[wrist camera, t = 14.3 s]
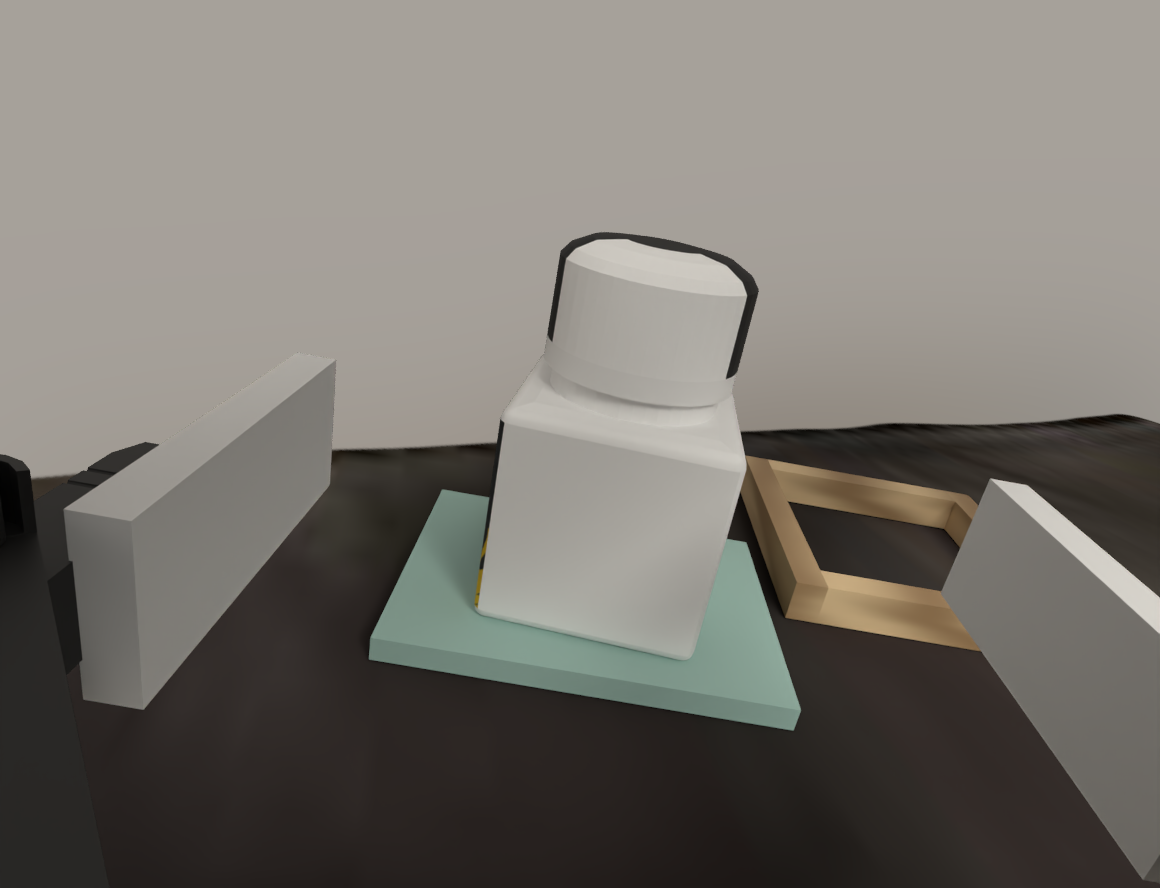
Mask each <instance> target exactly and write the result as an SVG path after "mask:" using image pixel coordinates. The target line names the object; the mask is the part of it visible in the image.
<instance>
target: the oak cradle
mask: <svg viewBox="0 0 1160 888" xmlns="http://www.w3.org/2000/svg"><path fill="white" fill-rule="evenodd" d="M745 459H746V473H745V476H744V480H743V483H742V487H741V490H740V492H741V495H742V498H743V501H744V503H745V506H746V509H747V512H748V515H749V517H750V520H751V523H752V526H753V529H754V532H755V534H756V537H757V540H758V543H759V546H760V548H761V551H762V554H763V557H764V560H765V563H766V565H767V568H768V571H769V574H770V577H771V579H772V582H773V585H774V588H775V591H776V594H777V596H778V599H779V602H780V605H781V608H782V610H783V613H784V616H785V618H789V619H795V620H801V621H807V622H813V623H819V624H824V625H830V626H836V627H842V628H848V629H853V630H859V631H865V632H871V633H877V634H883V635H888V636H894V637H900V638H906V639H912V640H917V641H923V642H929V643H935V644H941V645H947V646H952V647H958V648H964V649H970V650H976V651H981V650H980V649H979V647H978V646H977V645H976V643H975V642H974V640H973V639H972V637H971V636H970V635H969V633H968V632H967V630H966V629H965V628H964V626H963V625H962V623H961V622H960V621H959V619H958V618H957V616H956V615H955V613H954V612H953V611H952V609H951V608H950V606H949V605H948V604H947V602H946V601H945V599H944V598H943V596H942V595H941V591H935V590H930V589H924V588H918V587H912V586H907V585H901V584H895V583H889V582H884V581H878V580H872V579H866V578H861V577H855V576H849V575H843V574H838V573H832V572H826V571H820V569H819V567H818V564H817V562H816V560H815V558H814V556H813V554H812V552H811V550H810V548H809V546H808V543H807V541H806V539H805V537H804V535H803V533H802V531H801V529H800V527H799V524H798V522H797V520H796V518H795V516H794V514H793V512H792V510H791V508H790V505H789V503H788V501H789V502H795V503H800V504H806V505H812V506H817V507H823V508H829V509H834V510H840V511H846V512H851V513H857V514H863V515H868V516H874V517H880V518H885V519H891V520H897V521H903V522H908V523H914V524H920V525H925V526H931V527H937V528H942V529H945V530H946V532H947V533H948V534H949V535H950V536H951V538H952V539H953V540H954V541H955V542H956V544H957V545H958V546H959V547H961V545H962V543H963V541H964V538H965V536H966V534H967V531H968V529H969V527H970V524H971V522H972V520H973V517H974V515H975V513H976V510H977V508H978V505H977V504H976V503H975V502H974V501H973V500H972V499H971V498H970V497H969V496H968V495H965V494H959V493H953V492H948V491H942V490H937V489H931V488H925V487H920V486H914V485H908V484H903V483H897V482H891V481H886V480H880V479H875V478H869V477H863V476H858V475H852V474H846V473H841V472H835V471H830V470H824V469H818V468H813V467H807V466H801V465H796V464H790V463H785V462H779V461H773V460H768V459H762V458H756V457H751V456H745Z"/></svg>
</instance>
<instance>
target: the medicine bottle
mask: <svg viewBox="0 0 1160 888" xmlns="http://www.w3.org/2000/svg"><path fill="white" fill-rule="evenodd" d="M758 292H759V291H758V287H757V285H756V283H755V281H754V278H753V277H752V275H751V274H749V273H748V272H747V271H746V270H745V269H743V268H742V267H741V266H740V265H739V264H737V263H736V262H735V261H734V260H732V259H730V258H728V257H726V256H724V255H721V254H718V253H715V252H712V251H708V250H705V249H702V248H698V247H695V246H691V245H687V244H684V243H680V242H675V241H671V240H666V239H660V238H655V237H648V236H640V235H631V234H623V233H609V232H603V233H595V234H591V235H588V236H585V237H582V238H579V239H575V240H572V241H571V242H570V243H569V244H568V245H567V246H566V247H565V248H563V249H562V250H561V253H560V259H559V265H558V272H557V277H556V284H555V290H554V296H553V303H552V309H551V315H550V321H549V327H548V334H547V340H546V346H545V352H544V354H543V355H542V356H541V358H540V359H539V361H538V362H537V364H536V365H535V367H534V368H533V369H532V371H531V373H530V374H529V375H528V377H527V378H526V380H525V381H524V382H523V384H522V385H521V387H520V388H519V390H518V391H517V393H516V394H515V395H514V397H513V398H512V400H511V401H510V403H509V404H508V406H507V407H506V409H505V410H504V411H503V414H502V416H501V419H500V426H499V433H498V440H497V447H496V454H495V461H494V468H493V475H492V482H491V489H490V496H489V503H488V510H487V517H486V524H485V531H484V538H483V545H482V553H481V560H480V567H479V574H478V581H477V588H476V595H475V610H476V611H477V612H478V613H479V614H480V615H483V616H487V617H491V618H496V619H500V620H504V621H509V622H513V623H518V624H522V625H526V626H531V627H535V628H540V629H544V630H548V631H553V632H557V633H562V634H566V635H570V636H575V637H579V638H584V639H588V640H592V641H597V642H601V643H606V644H610V645H614V646H619V647H623V648H628V649H632V650H636V651H641V652H645V653H650V654H654V655H658V656H663V657H667V658H672V659H676V660H681V661H684V660H688V659H690V658H691V656H692V655H693V653H694V651H695V647H696V644H697V640H698V637H699V633H700V630H701V626H702V623H703V619H704V616H705V612H706V609H707V605H708V602H709V598H710V595H711V591H712V588H713V584H714V581H715V577H716V574H717V570H718V567H719V563H720V560H721V556H722V553H723V549H724V546H725V542H726V539H727V535H728V532H729V528H730V525H731V521H732V518H733V515H734V511H735V508H736V504H737V501H738V497H739V494H740V490H741V487H742V483H743V480H744V476H745V473H746V459H745V454H744V448H743V443H742V438H741V433H740V428H739V424H738V418H737V413H736V408H735V403H734V398H733V394H732V389H733V386H734V382H735V378H736V374H737V371H738V367H739V363H740V359H741V356H742V352H743V348H744V344H745V341H746V337H747V333H748V329H749V326H750V322H751V318H752V314H753V311H754V307H755V303H756V299H757V295H758Z"/></svg>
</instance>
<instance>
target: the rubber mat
mask: <svg viewBox="0 0 1160 888" xmlns="http://www.w3.org/2000/svg"><path fill="white" fill-rule="evenodd" d="M488 503H489V498H488V497H483V496H477V495H471V494H466V493H460V492H454V491H448V490H443V489H442V491H441V493H440V495H439V497H438V500H437V502H436V504H435V506H434V508H433V510H432V512H431V514H430V516H429V518H428V520H427V522H426V524H425V526H424V528H423V530H422V532H421V535H420V537H419V539H418V541H417V543H416V545H415V547H414V549H413V551H412V553H411V555H410V557H409V559H408V561H407V563H406V565H405V568H404V570H403V572H402V574H401V576H400V578H399V580H398V582H397V584H396V586H395V588H394V590H393V592H392V594H391V596H390V598H389V601H388V603H387V605H386V607H385V609H384V611H383V613H382V615H381V617H380V619H379V621H378V623H377V625H376V627H375V629H374V631H373V634H372V636H371V638H370V650H369V660H375V661H381V662H387V663H393V664H399V665H405V666H411V667H417V668H423V669H429V670H435V671H441V672H447V673H453V674H459V675H465V676H471V677H476V678H482V679H488V680H494V681H500V682H506V683H512V684H518V685H524V686H530V687H536V688H542V689H548V690H554V691H560V692H566V693H572V694H578V695H584V696H590V697H596V698H602V699H608V700H614V701H620V702H625V703H631V704H637V705H643V706H649V707H655V708H661V709H667V710H673V711H679V712H685V713H691V714H697V715H703V716H709V717H715V718H721V719H727V720H733V721H739V722H745V723H751V724H757V725H763V726H769V727H775V728H780V729H786V730H792V731H794V728H795V725H796V722H797V720H798V717H799V714H800V712H801V709H800V706H799V703H798V700H797V697H796V694H795V690H794V687H793V684H792V681H791V678H790V675H789V672H788V669H787V666H786V663H785V660H784V657H783V654H782V651H781V647H780V644H779V641H778V638H777V635H776V632H775V629H774V626H773V623H772V620H771V617H770V614H769V611H768V608H767V604H766V601H765V598H764V595H763V592H762V589H761V586H760V583H759V580H758V577H757V574H756V571H755V568H754V564H753V561H752V558H751V555H750V552H749V549H748V546H747V543H746V542H741V541H735V540H729V539H726V542H725V546H724V549H723V553H722V556H721V560H720V563H719V567H718V570H717V574H716V577H715V581H714V584H713V588H712V591H711V595H710V598H709V602H708V605H707V609H706V612H705V616H704V619H703V623H702V626H701V630H700V633H699V637H698V640H697V644H696V647H695V651H694V653H693V655H692V656H691V658H690V659H688V660H684V661H681V660H676V659H672V658H667V657H663V656H658V655H654V654H650V653H645V652H641V651H636V650H632V649H628V648H623V647H619V646H614V645H610V644H606V643H601V642H597V641H592V640H588V639H584V638H579V637H575V636H570V635H566V634H562V633H557V632H553V631H548V630H544V629H540V628H535V627H531V626H526V625H522V624H518V623H513V622H509V621H504V620H500V619H496V618H491V617H487V616H483V615H480V614H479V613H478V612H477V611H476V610H475V595H476V588H477V581H478V574H479V567H480V560H481V553H482V545H483V538H484V531H485V524H486V517H487V510H488Z"/></svg>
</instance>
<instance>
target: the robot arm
mask: <svg viewBox="0 0 1160 888" xmlns="http://www.w3.org/2000/svg"><path fill="white" fill-rule="evenodd" d="M335 374H336V359H330V358H324V357H319V356H314V355H308V354H303V353H296V354H294V355H293V356H291V357H290V358H288V359H287V360H285V361H284V362H282V363H281V364H279V365H278V366H276V367H275V368H273V369H272V370H270V371H269V372H267V373H266V374H264V375H263V376H261V377H260V378H259V379H257V380H255V381H254V382H252V383H251V384H250V385H248V386H246V387H245V388H243V389H242V390H240V391H239V392H238V393H236V394H235V395H233V396H232V397H230V398H229V399H227V400H226V401H224V402H223V403H221V404H220V405H218V406H217V407H215V408H214V409H212V410H211V411H209V412H208V413H206V414H205V415H203V416H202V417H200V418H199V419H198V420H196V421H194V422H193V423H191V424H190V425H188V426H187V427H185V428H184V429H182V430H181V431H179V432H178V433H176V434H175V435H173V436H172V437H170V438H169V439H167V440H166V441H164V442H163V443H161V444H160V445H159V444H153V443H147V442H144V443H142V444H138V445H135V446H132V447H128V448H125V449H122V450H119V451H115V452H112V453H111V454H109V455H107V456H106V457H104V458H102V459H101V460H99V461H98V462H96V463H94V464H93V465H91V466H90V467H88V470H87V471H81V472H80V473H78V474H77V475H75V476H73V477H72V478H70V479H69V480H68V483H67V484H65V483H62V484H61V485H59V486H57V487H56V488H54V489H53V490H51V491H49V492H48V493H46V494H45V495H43V496H41V497H40V498H38V499H37V500H35V501H33V493H32V484H31V476H30V470H29V468H28V467H27V466H26V465H25V464H24V462H23V461H20V460H18V459H15V458H12V457H10V456H7V455H1V454H0V888H109V883H108V878H107V873H106V868H105V863H104V858H103V853H102V848H101V843H100V838H99V833H98V829H97V824H96V819H95V814H94V809H93V804H92V799H91V794H90V789H89V784H88V779H87V774H86V770H85V765H84V760H83V755H82V750H81V745H80V740H79V735H78V730H77V725H76V720H75V715H74V711H73V706H72V701H71V696H70V691H69V686H68V681H67V676H66V675H67V674H68V673H69V672H70V671H71V670H72V669H73V668H74V667H75V666H76V665H78V664H80V674H81V684H82V693H83V700H89V701H95V702H100V703H106V704H112V705H118V706H124V707H130V708H136V709H142V710H144V709H145V707H146V706H147V705H148V704H149V703H150V701H151V700H152V699H153V698H154V696H155V695H156V694H157V693H158V692H159V690H160V689H161V688H162V687H163V686H164V684H165V683H166V682H167V681H168V680H169V678H170V677H171V676H172V675H173V674H174V672H175V671H176V670H177V669H178V668H179V666H180V665H181V664H182V663H183V662H184V660H185V659H186V658H187V657H188V655H189V654H190V653H191V652H192V651H193V649H194V648H195V647H196V646H197V645H198V643H199V642H200V641H201V640H202V639H203V637H204V636H205V635H206V634H207V633H208V631H209V630H210V629H211V628H212V627H213V625H214V624H215V623H216V622H217V620H218V619H219V618H220V617H221V616H222V614H223V613H224V612H225V611H226V610H227V608H228V607H229V606H230V605H231V604H232V602H233V601H234V600H235V599H236V598H237V596H238V595H239V594H240V593H241V592H242V590H243V589H244V588H245V587H246V586H247V584H248V583H249V582H250V581H251V579H252V578H253V577H254V576H255V575H256V573H257V572H258V571H259V570H260V569H261V567H262V566H263V565H264V564H265V563H266V561H267V560H268V559H269V558H270V557H271V555H272V554H273V553H274V552H275V551H276V549H277V548H278V547H279V546H280V545H281V543H282V542H283V541H284V540H285V538H286V537H287V536H288V535H289V534H290V532H291V531H292V530H293V529H294V528H295V526H296V525H297V524H298V523H299V522H300V520H301V519H302V518H303V517H304V516H305V514H306V513H307V512H308V511H309V510H310V508H311V507H312V506H313V505H314V504H315V502H316V501H317V500H318V499H319V497H320V496H321V495H322V494H323V493H324V491H325V490H326V489H327V488H328V487H329V485H330V471H331V452H332V432H333V413H334V393H335ZM941 595H942V596H943V598H944V599H945V601H946V602H947V604H948V605H949V606H950V608H951V609H952V611H953V612H954V613H955V615H956V616H957V618H958V619H959V621H960V622H961V623H962V625H963V626H964V628H965V629H966V630H967V632H968V633H969V635H970V636H971V637H972V639H973V640H974V642H975V643H976V645H977V646H978V647H979V649H980V650H981V652H982V653H983V654H984V656H985V657H986V659H987V660H988V662H989V663H990V664H991V666H992V667H993V669H994V670H995V671H996V673H997V674H998V676H999V677H1000V678H1001V680H1002V681H1003V683H1004V684H1005V686H1006V687H1007V688H1008V690H1009V691H1010V693H1011V694H1012V695H1013V697H1014V698H1015V700H1016V701H1017V703H1018V704H1019V705H1020V707H1021V708H1022V710H1023V711H1024V712H1025V714H1026V715H1027V717H1028V718H1029V719H1030V721H1031V722H1032V724H1033V725H1034V727H1035V728H1036V729H1037V731H1038V732H1039V734H1040V735H1041V736H1042V738H1043V739H1044V741H1045V742H1046V744H1047V745H1048V746H1049V748H1050V749H1051V751H1052V752H1053V753H1054V755H1055V756H1056V758H1057V759H1058V760H1059V762H1060V763H1061V765H1062V766H1063V768H1064V769H1065V770H1066V772H1067V773H1068V775H1069V776H1070V777H1071V779H1072V780H1073V782H1074V783H1075V785H1076V786H1077V787H1078V789H1079V790H1080V792H1081V793H1082V794H1083V796H1084V797H1085V799H1086V800H1087V801H1088V803H1089V804H1090V806H1091V807H1092V809H1093V810H1094V811H1095V813H1096V814H1097V816H1098V817H1099V818H1100V820H1101V821H1102V823H1103V824H1104V826H1105V827H1106V828H1107V830H1108V831H1109V833H1110V834H1111V835H1112V837H1113V838H1114V840H1115V841H1116V842H1117V844H1118V845H1119V847H1120V848H1121V850H1122V851H1123V852H1124V854H1125V855H1126V857H1127V858H1128V859H1129V861H1130V862H1131V864H1132V865H1133V867H1134V868H1135V869H1136V871H1137V872H1138V874H1139V875H1140V876H1141V878H1142V879H1143V880H1147V881H1153V882H1159V883H1160V598H1159V597H1158V596H1157V595H1156V594H1155V593H1154V592H1152V591H1151V590H1150V589H1149V588H1148V587H1146V586H1145V585H1144V584H1143V583H1142V582H1141V581H1139V580H1138V579H1137V578H1136V577H1135V576H1134V575H1132V574H1131V573H1130V572H1129V571H1128V570H1126V569H1125V568H1124V567H1123V566H1122V565H1121V564H1119V563H1118V562H1117V561H1116V560H1115V559H1114V558H1112V557H1111V556H1110V555H1109V554H1108V553H1106V552H1105V551H1104V550H1103V549H1102V548H1101V547H1099V546H1098V545H1097V544H1096V543H1095V542H1094V541H1092V540H1091V539H1090V538H1089V537H1088V536H1086V535H1085V534H1084V533H1083V532H1082V531H1081V530H1079V529H1078V528H1077V527H1076V526H1075V525H1073V524H1072V523H1071V522H1070V521H1069V520H1068V519H1066V518H1065V517H1064V516H1063V515H1062V514H1061V513H1059V512H1058V511H1057V510H1056V509H1055V508H1053V507H1052V506H1051V505H1050V504H1049V503H1048V502H1046V501H1045V500H1044V499H1043V498H1042V497H1041V496H1039V495H1038V494H1037V493H1036V492H1035V491H1033V490H1032V489H1031V488H1030V487H1029V486H1028V485H1023V484H1017V483H1012V482H1006V481H1001V480H995V479H990V480H989V482H988V485H987V487H986V489H985V492H984V494H983V496H982V499H981V501H980V503H979V506H978V508H977V510H976V513H975V515H974V517H973V520H972V522H971V524H970V527H969V529H968V531H967V534H966V536H965V538H964V541H963V543H962V545H961V547H960V550H959V552H958V554H957V557H956V559H955V561H954V564H953V566H952V568H951V571H950V573H949V575H948V578H947V580H946V582H945V585H944V587H943V589H942V592H941Z"/></svg>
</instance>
